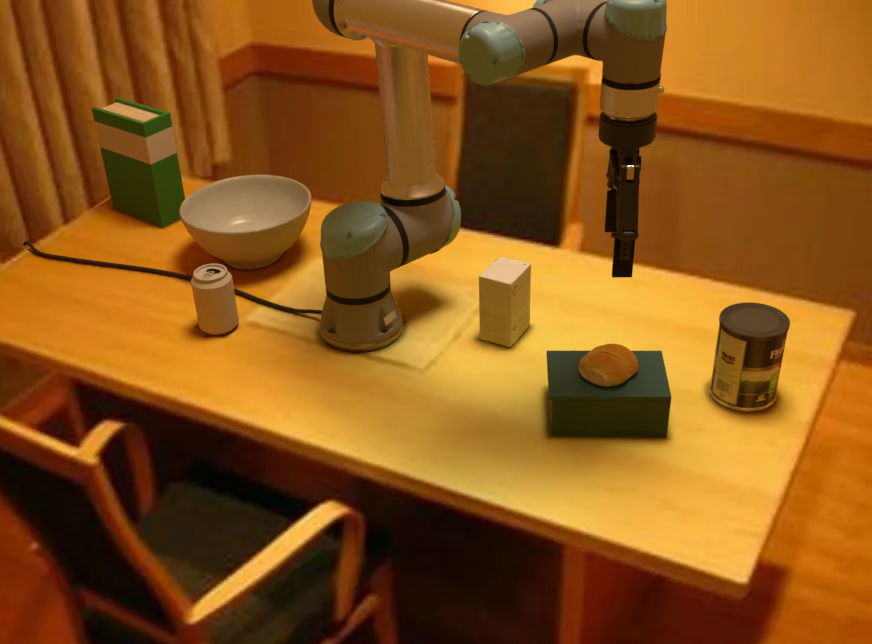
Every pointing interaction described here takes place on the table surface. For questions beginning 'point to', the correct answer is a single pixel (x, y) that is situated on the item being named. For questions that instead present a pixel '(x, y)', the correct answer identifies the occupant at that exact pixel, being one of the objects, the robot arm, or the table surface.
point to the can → (214, 299)
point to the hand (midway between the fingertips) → (617, 253)
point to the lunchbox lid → (639, 387)
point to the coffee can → (748, 356)
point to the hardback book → (140, 161)
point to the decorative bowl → (247, 218)
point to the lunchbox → (609, 418)
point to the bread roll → (608, 365)
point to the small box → (504, 301)
